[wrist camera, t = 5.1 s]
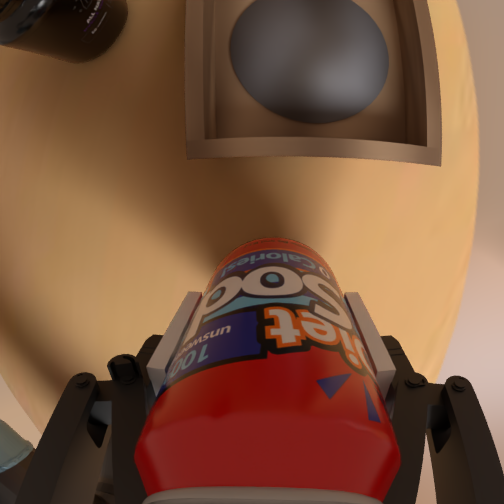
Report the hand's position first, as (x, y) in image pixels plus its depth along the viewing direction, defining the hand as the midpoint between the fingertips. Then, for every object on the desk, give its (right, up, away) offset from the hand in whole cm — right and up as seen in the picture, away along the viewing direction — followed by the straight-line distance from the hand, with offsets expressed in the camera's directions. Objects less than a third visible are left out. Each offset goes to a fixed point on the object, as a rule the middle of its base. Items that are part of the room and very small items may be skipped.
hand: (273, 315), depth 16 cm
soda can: (0, +1, +3) cm, 3 cm away
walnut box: (+3, +16, -1) cm, 16 cm away
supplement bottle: (-13, +21, -1) cm, 25 cm away
